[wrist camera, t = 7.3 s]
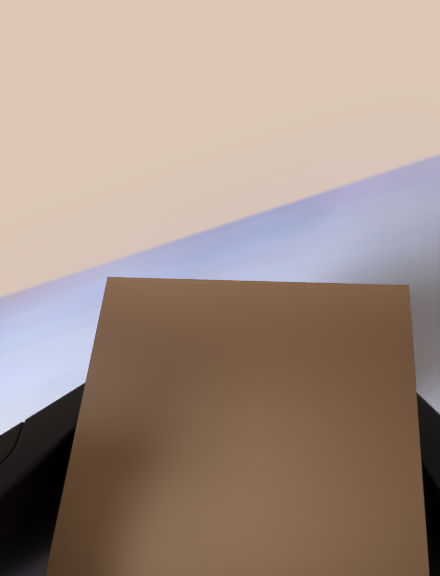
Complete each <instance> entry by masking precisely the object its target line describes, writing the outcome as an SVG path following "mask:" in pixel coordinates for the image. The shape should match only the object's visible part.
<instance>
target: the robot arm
mask: <svg viewBox="0 0 440 576" xmlns="http://www.w3.org/2000/svg"><path fill="white" fill-rule="evenodd" d="M85 383H86V382H85ZM85 383H84V384H82V385H81V386H79V387H77V388H76V389H74V390H73V391H71V392H69V393H68V394H66V395H65V396H63V397H61V398H60V399H58V400H57V401H55V402H53V403H52V404H50V405H48V406H47V407H45V408H44V409H42V410H40V411H39V412H37V413H36V414H34V415H32V416H31V417H29V418H28V419H26V420H25V422H21V423H19V424H18V425H16V426H15V427H13V428H11V429H10V430H8V431H7V432H5V433H3V434H2V435H0V576H45V574H46V569H47V564H48V560H49V555H50V550H51V545H52V541H53V536H54V531H55V526H56V521H57V517H58V512H59V507H60V502H61V498H62V493H63V488H64V483H65V478H66V474H67V469H68V464H69V459H70V455H71V450H72V445H73V440H74V435H75V431H76V426H77V421H78V416H79V412H80V407H81V402H82V397H83V392H84V388H85ZM416 394H417V408H418V422H419V436H420V450H421V464H422V478H423V492H424V506H425V520H426V534H427V548H428V562H429V576H440V414H439V413H438V412H437V411H436V410H435V409H434V408H433V407H431V406H430V405H429V404H428V403H427V402H426V401H425V400H424V399H423V398H422V397H421V396H420V395H419V394H418V393H417V392H416Z"/></svg>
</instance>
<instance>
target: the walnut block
mask: <svg viewBox="0 0 440 576" xmlns="http://www.w3.org/2000/svg"><path fill="white" fill-rule="evenodd" d="M45 576H429V562H428V548H427V534H426V520H425V506H424V492H423V478H422V464H421V450H420V436H419V422H418V408H417V394H416V380H415V366H414V352H413V338H412V324H411V310H410V296H409V285H379V284H342V283H306V282H269V281H233V280H196V279H160V278H123V277H108V278H107V283H106V287H105V292H104V297H103V302H102V306H101V311H100V316H99V321H98V326H97V330H96V335H95V340H94V345H93V349H92V354H91V359H90V364H89V369H88V373H87V378H86V383H85V388H84V392H83V397H82V402H81V407H80V412H79V416H78V421H77V426H76V431H75V435H74V440H73V445H72V450H71V455H70V459H69V464H68V469H67V474H66V478H65V483H64V488H63V493H62V498H61V502H60V507H59V512H58V517H57V521H56V526H55V531H54V536H53V541H52V545H51V550H50V555H49V560H48V564H47V569H46V574H45Z"/></svg>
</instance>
